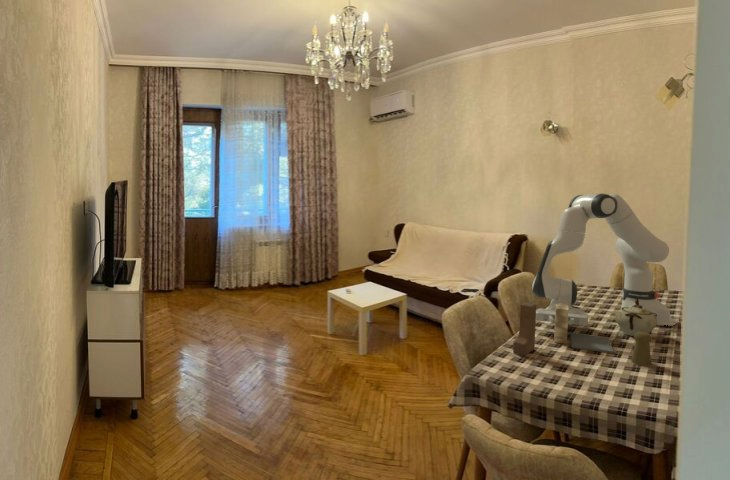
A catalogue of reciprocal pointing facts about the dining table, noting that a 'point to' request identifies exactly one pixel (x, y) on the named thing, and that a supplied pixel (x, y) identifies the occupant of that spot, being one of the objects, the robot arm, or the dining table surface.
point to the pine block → (561, 323)
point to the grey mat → (591, 342)
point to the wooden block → (526, 330)
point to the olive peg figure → (642, 349)
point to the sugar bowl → (635, 319)
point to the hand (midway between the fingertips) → (561, 322)
